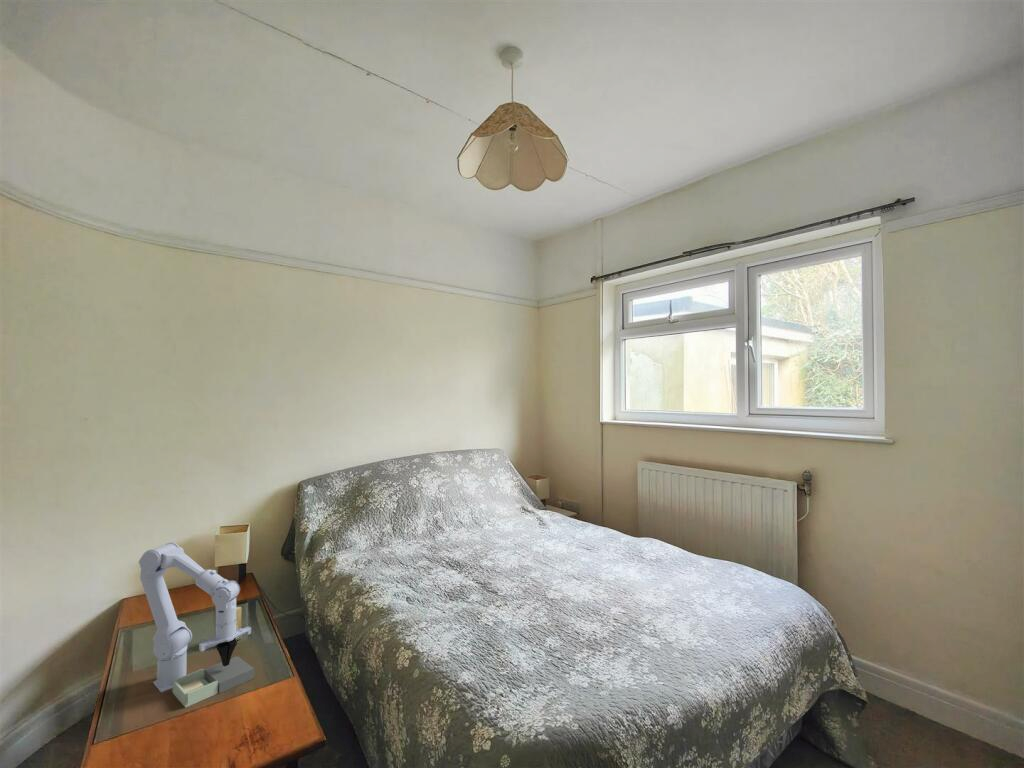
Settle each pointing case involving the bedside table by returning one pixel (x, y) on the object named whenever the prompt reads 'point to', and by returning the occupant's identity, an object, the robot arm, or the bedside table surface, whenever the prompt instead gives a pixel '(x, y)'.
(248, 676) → the plate
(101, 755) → the bedside table surface
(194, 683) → the birch block
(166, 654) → the robot arm
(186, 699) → the tray
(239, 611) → the skincare box
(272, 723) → the bedside table surface
